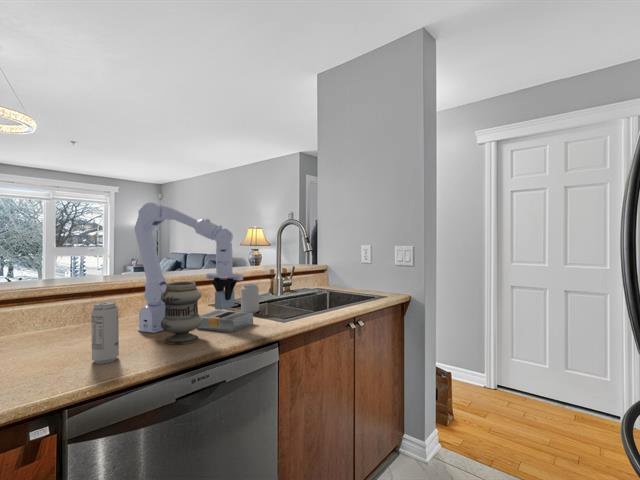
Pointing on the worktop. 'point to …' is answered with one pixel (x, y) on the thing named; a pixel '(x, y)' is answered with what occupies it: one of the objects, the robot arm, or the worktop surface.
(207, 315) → the rack
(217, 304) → the block
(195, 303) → the apothecary jar
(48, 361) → the worktop surface
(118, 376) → the worktop surface
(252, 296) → the can
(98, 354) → the energy drink can
